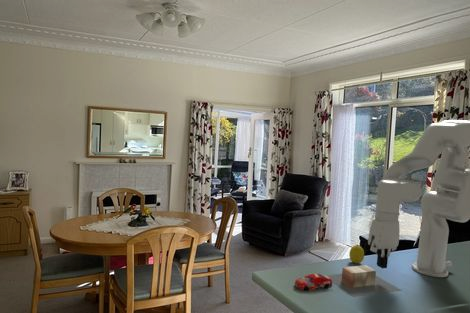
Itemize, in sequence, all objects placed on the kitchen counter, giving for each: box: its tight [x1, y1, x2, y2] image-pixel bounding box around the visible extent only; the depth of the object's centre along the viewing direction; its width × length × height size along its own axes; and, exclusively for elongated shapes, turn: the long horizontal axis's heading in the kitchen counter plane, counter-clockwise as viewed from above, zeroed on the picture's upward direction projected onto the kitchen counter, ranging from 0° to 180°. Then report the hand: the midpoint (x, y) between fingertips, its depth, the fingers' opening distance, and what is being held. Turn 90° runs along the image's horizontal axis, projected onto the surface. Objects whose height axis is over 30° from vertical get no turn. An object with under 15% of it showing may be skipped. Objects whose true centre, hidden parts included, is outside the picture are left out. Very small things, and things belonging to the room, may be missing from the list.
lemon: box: [348, 244, 365, 265], centre depth 143 cm, size 6×6×8 cm
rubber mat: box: [326, 273, 402, 298], centre depth 125 cm, size 20×16×1 cm
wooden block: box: [341, 264, 377, 288], centre depth 124 cm, size 5×5×10 cm
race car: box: [294, 273, 333, 292], centre depth 120 cm, size 13×5×4 cm, turn 110°
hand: (381, 266), depth 127 cm, fingers closed
